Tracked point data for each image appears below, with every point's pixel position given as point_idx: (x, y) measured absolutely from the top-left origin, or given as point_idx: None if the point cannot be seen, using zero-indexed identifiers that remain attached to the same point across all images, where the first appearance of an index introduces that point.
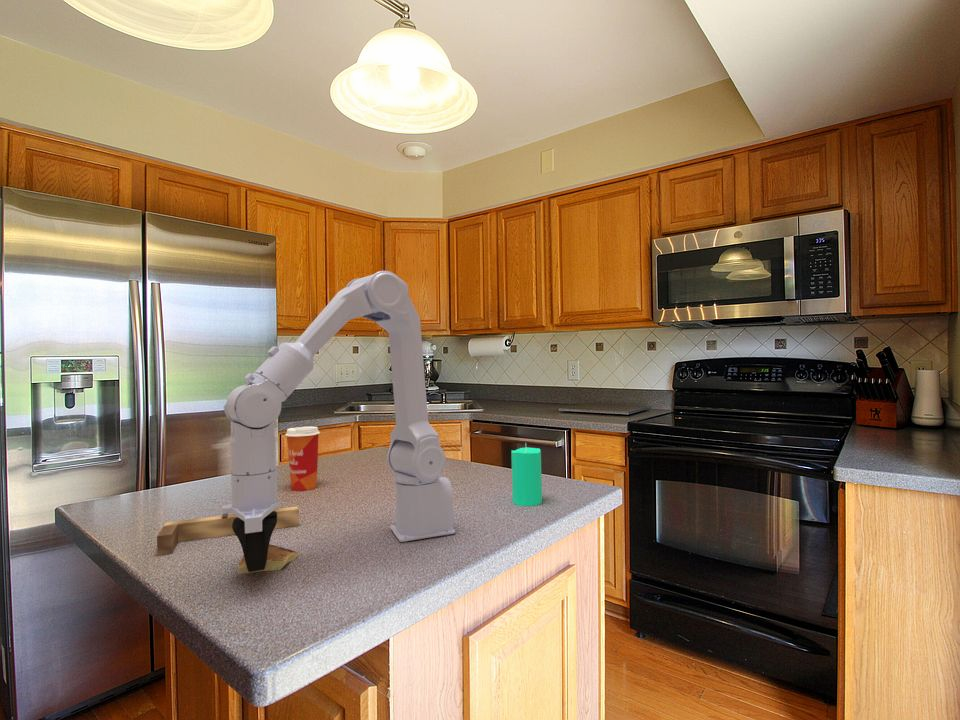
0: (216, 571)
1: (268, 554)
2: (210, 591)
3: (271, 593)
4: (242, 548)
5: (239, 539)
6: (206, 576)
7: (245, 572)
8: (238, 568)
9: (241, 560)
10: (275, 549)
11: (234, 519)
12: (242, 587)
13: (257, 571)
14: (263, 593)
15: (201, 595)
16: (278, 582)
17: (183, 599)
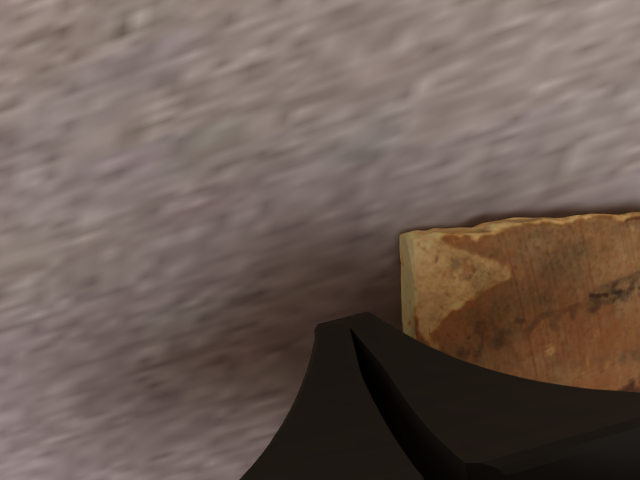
0: (479, 81)
1: (536, 369)
2: (174, 145)
3: (101, 467)
4: (295, 403)
5: (250, 469)
6: (416, 40)
7: (402, 266)
8: (415, 236)
9: (513, 229)
10: (613, 378)
11: (625, 444)
12: (201, 309)
13: (403, 323)
14: (106, 432)
15: (123, 109)
16: (232, 461)
17: (75, 9)
